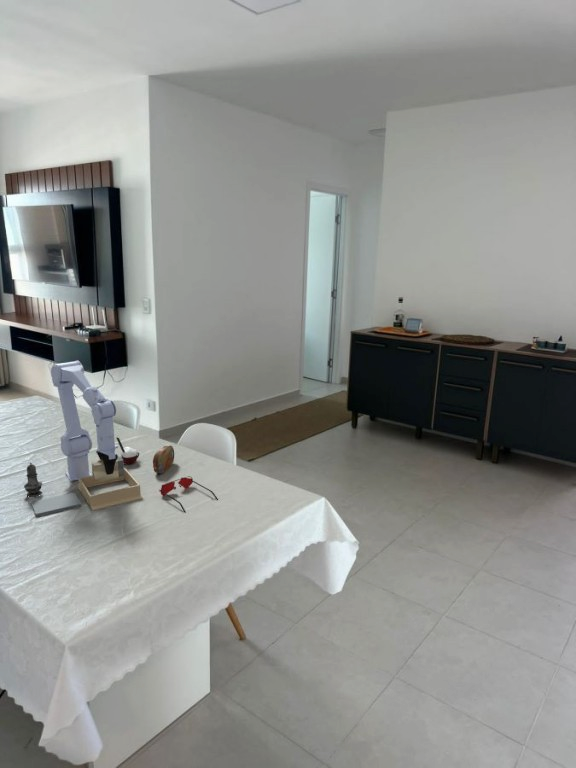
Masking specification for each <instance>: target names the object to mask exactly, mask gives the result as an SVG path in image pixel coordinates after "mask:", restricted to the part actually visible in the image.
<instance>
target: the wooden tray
mask: <svg viewBox="0 0 576 768" xmlns="http://www.w3.org/2000/svg"><path fill="white" fill-rule="evenodd" d="M124 480H125V481H126V482H127V483H128V484H129V486H128V487H124V488H119V489H115V490H111V491H106V492H101V493H97V494H91V493H90V491H89V490H88V488H91V487H96V486H99V485H105V484H109V483H110V484H111V483H113V482H119V481H124ZM77 488H78V489H79V490H80V492H81V494H82V496H83V497H84V499H85V500H86V503H88V505H89V508H91V511H96V510H100V509H104V508H108V507H113V506H116V505H117V506H118V505H120V504H121V505H122V504H125V503H126V504H127V503H129V502H134V501H137V500H141V499H142V500H143V498H144V497H143V496H142V493H141V484H140V483H139V482H138V481H137V480H136V479H135V478H134V476H132V474H131V473H130V472H129V471H128V470H127V469H126V468H124V476H121V477H116V478H111V479H106V480H102V481H97V482H95V480H94V479H93V476H88V477H83V478H79V480H78V484H77Z"/></svg>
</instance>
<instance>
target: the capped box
mask: <svg viewBox="0 0 576 768" xmlns="http://www.w3.org/2000/svg"><path fill="white" fill-rule="evenodd" d="M124 464H125V463H124V462H123V459H122V457H121V456H118V458H117V460H116V462H115V466H114V472H113V474H109V475H107V474H106V471H105V466H104V463H103V461H102V460H100V459H98V460H95V461H91V471H92V473H91V474H92V476H93V479H94V480H95V482H97V481H102V480H106V479H111V478H116V477H121V476H124V469H125V465H124Z"/></svg>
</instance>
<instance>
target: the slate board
mask: <svg viewBox="0 0 576 768" xmlns="http://www.w3.org/2000/svg"><path fill="white" fill-rule="evenodd" d="M30 504H31V507H32V510H33V513H34V512H35V513H34V515H35V517H37V516H38V517H41V516H46V515H49V514H53V513H59V512H63V511H66V510H71V509H76V508H81V507H82V503H81V501H80V499H79V497H78V496H77V494H76V492H71V493H65V494H61V495H60V494H59V495H56V496H51V497H47V498H44V499H43V498H42V499H39V500H34V501H31V502H30Z"/></svg>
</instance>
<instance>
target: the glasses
mask: <svg viewBox="0 0 576 768" xmlns="http://www.w3.org/2000/svg"><path fill="white" fill-rule="evenodd" d="M193 479H194V478H193V477H192V476H190V475H189V476H188V475H187V476H186V477H181V478H179V479H176V480H172V481H170V482H169V481H168V482H167V483H165V484H162V485H161V487H160V489H159V490H158V492H160V494H161V496H162V497H164V496H167V497H169V498H170V499H172V500H173V501H175V502H177V503H178V504H179V506H180V507H181V508H182V509H181V510H182V511H183V513H184V514H185V513H186V510H185V508H184V506H183V504H182V503H181V502H180V501H179V500H177V499H176V498H174V497H172V496H171V495H169V493H170V492H172V491H175V490H177V486H176V485H175V482H177V481H178V482H177V484H178V486H179V487H180V488H184V489H189V488H190V486H191V485H193V483H194V484H196V485H198V486H200V487H201V488H204V489H205V490H207V491H209V492H210V493H211V494H212V495H213V497H214V498H215V499H217V500H216V501H219V498H218V497H217V495H216V493H214V492H213V491H212V490H211V489H209V488H207V487H205V486H204V485H202V484H200V483H198V482H196V481H195V480H193Z"/></svg>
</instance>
